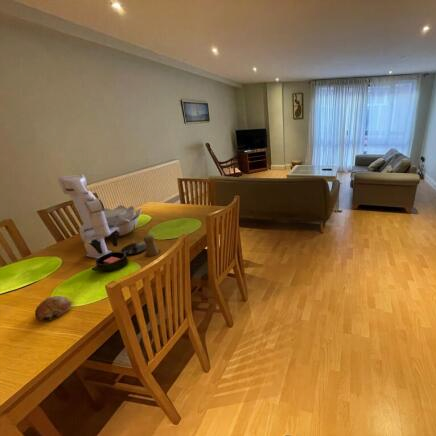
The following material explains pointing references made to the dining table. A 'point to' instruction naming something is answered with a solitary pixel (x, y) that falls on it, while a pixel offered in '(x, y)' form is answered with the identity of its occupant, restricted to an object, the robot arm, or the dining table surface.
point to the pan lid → (134, 248)
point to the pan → (111, 266)
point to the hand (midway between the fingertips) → (108, 249)
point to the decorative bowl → (122, 219)
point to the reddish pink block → (111, 260)
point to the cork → (150, 245)
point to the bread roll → (52, 308)
